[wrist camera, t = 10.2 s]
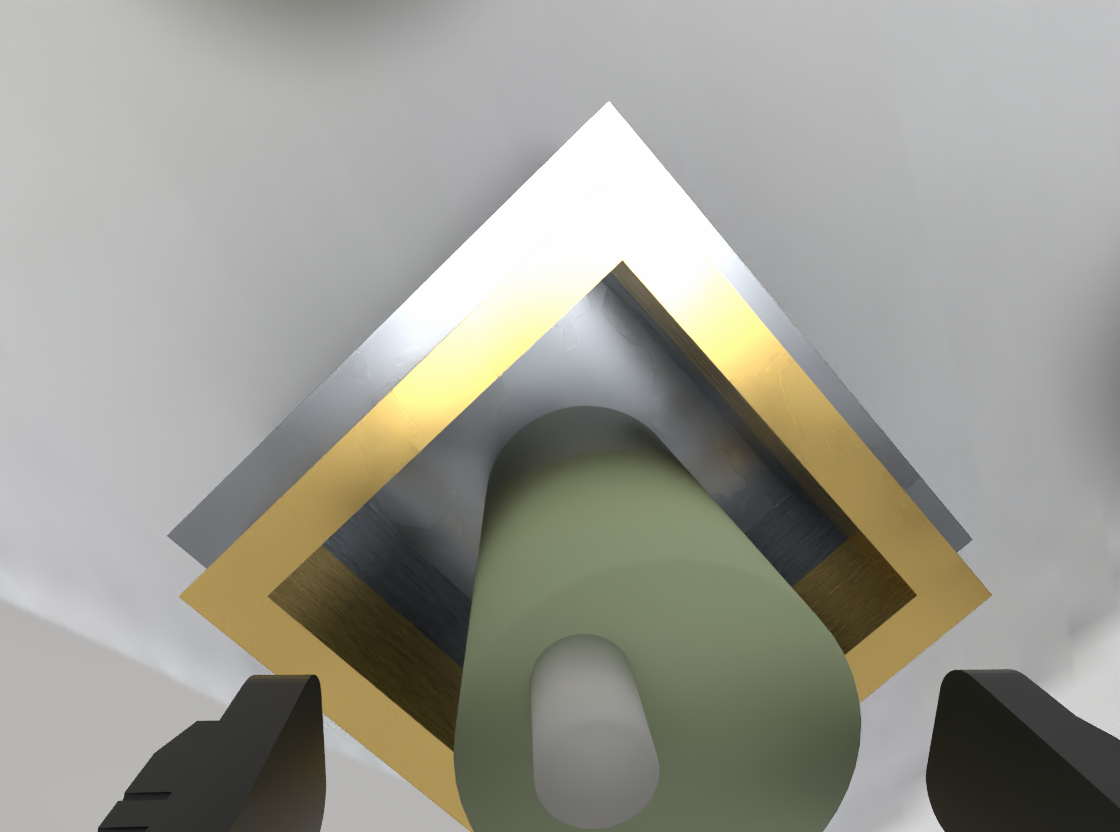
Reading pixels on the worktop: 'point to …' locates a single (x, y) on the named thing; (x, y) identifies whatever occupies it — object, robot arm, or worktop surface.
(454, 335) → the open square metal box
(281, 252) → the worktop surface
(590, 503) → the spout can
